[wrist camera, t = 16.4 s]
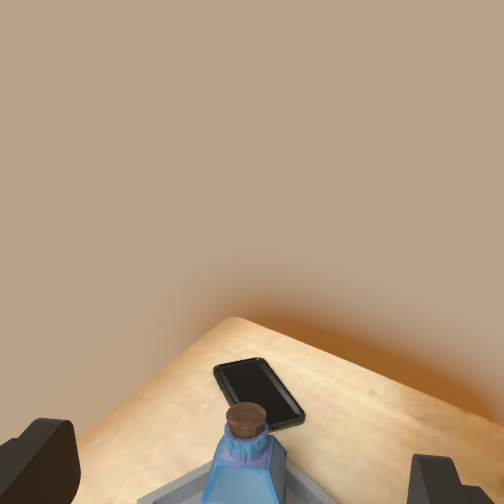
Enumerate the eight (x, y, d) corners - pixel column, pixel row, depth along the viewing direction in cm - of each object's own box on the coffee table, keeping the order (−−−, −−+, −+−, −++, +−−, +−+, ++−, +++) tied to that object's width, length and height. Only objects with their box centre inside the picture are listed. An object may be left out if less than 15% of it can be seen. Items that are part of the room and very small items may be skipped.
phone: (262, 356, 67) (308, 417, 53) (262, 362, 67) (307, 425, 54) (210, 366, 64) (245, 432, 51) (210, 373, 64) (245, 441, 51)
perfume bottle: (203, 561, 36) (197, 437, 33) (219, 499, 42) (216, 388, 39) (279, 571, 36) (282, 446, 32) (285, 506, 41) (288, 394, 38)
